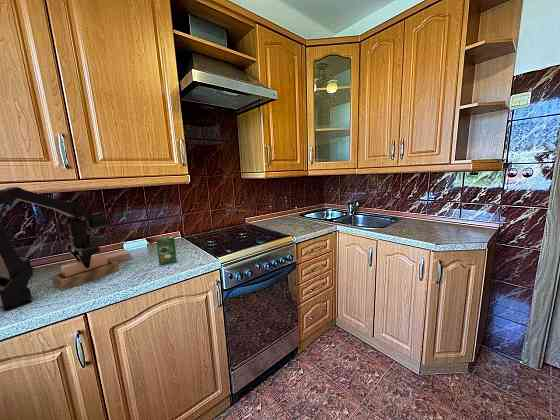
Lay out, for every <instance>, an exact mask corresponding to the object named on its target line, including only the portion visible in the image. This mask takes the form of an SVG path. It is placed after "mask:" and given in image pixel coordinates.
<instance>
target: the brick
mask: <svg viewBox="0 0 560 420" xmlns="http://www.w3.org/2000/svg"><path fill="white" fill-rule="evenodd" d="M99 255H100V254H97V255H92V256H91V258H92V257H95V256H99ZM104 255H107V259H109V260H112V261H115V262H118V264H120V263H123V262H126V261H132V254H131V253H130V251H129V249H124V250H119V251H114V252H111V253H104Z"/></svg>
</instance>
